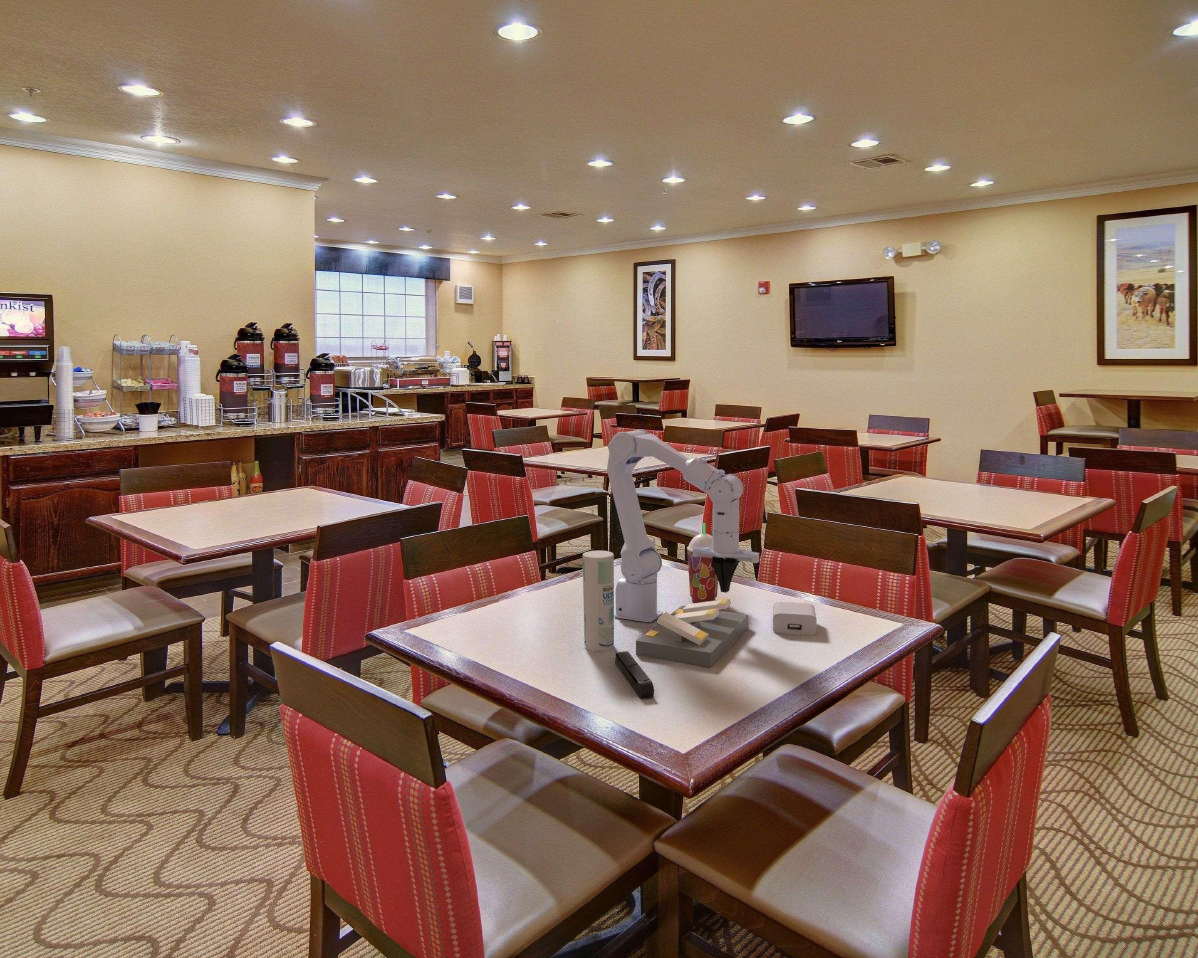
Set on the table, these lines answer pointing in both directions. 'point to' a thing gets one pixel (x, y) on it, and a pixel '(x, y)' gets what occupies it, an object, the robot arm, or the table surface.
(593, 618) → the spray can
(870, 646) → the table surface
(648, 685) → the black long bar
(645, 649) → the switch panel
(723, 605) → the block
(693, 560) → the smoothie
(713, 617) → the block
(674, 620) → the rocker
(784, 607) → the charger
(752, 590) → the table surface
